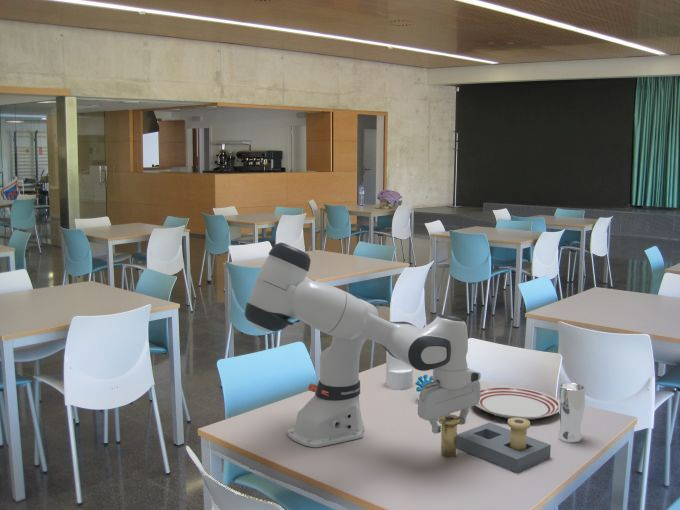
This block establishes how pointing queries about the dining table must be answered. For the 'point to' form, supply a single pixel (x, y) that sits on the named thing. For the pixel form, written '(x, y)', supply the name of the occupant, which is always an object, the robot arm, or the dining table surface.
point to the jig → (505, 445)
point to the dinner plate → (517, 403)
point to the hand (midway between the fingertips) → (448, 428)
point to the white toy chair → (398, 374)
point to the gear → (423, 381)
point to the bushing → (449, 434)
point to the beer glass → (571, 411)
